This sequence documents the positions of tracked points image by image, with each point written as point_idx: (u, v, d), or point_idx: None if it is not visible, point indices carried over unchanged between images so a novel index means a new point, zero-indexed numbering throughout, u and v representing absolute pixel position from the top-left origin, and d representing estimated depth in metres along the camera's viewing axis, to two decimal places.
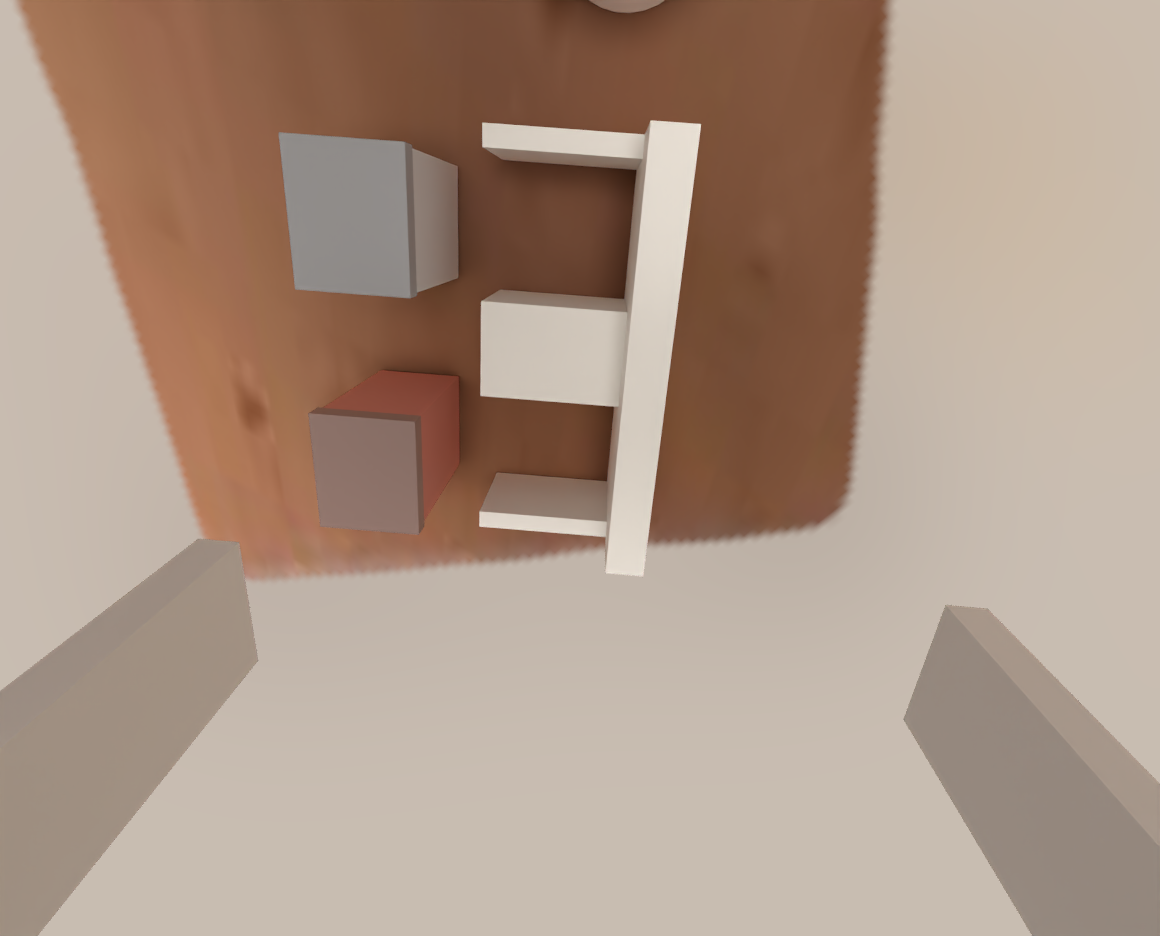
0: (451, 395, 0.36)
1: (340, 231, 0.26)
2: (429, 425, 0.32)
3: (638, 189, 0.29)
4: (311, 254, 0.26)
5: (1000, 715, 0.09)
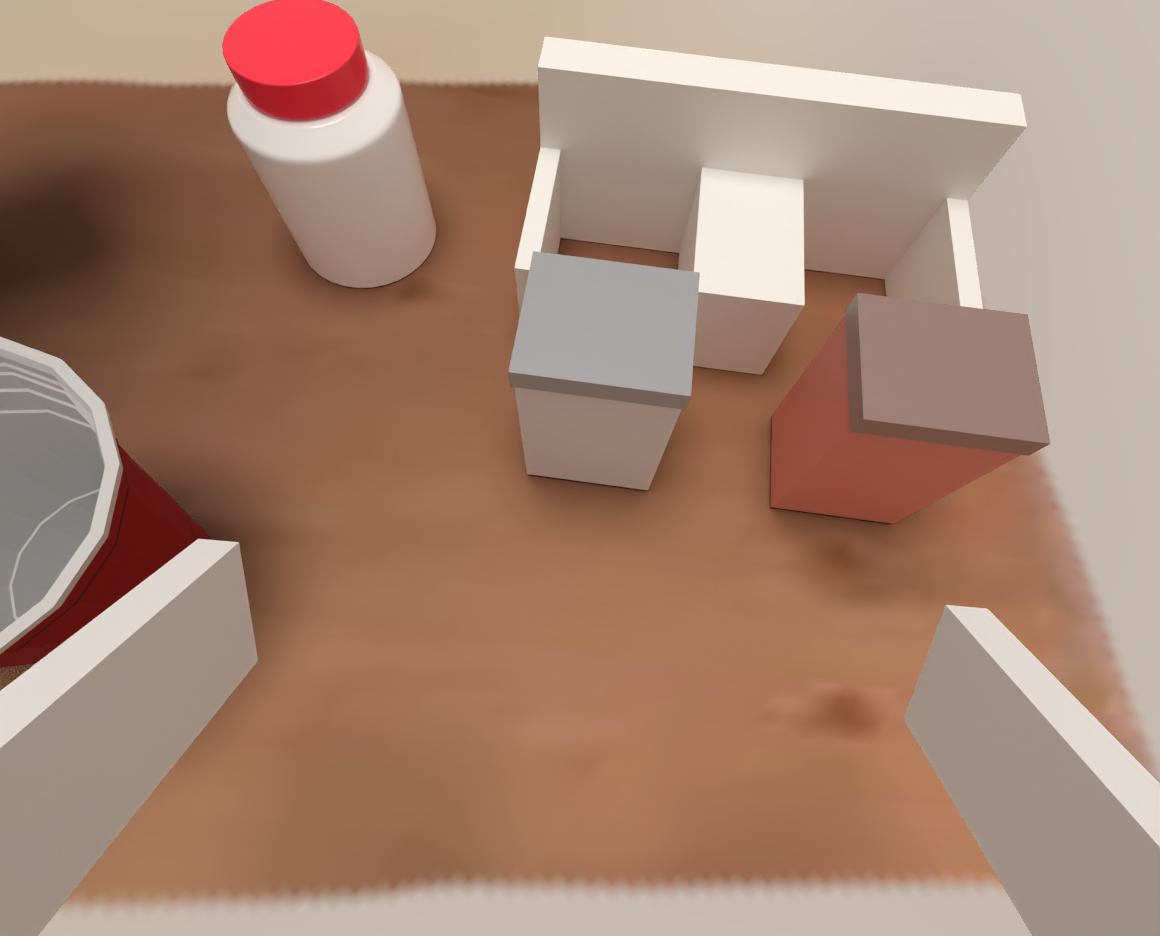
0: None
1: (622, 330, 0.21)
2: None
3: (584, 170, 0.30)
4: (647, 367, 0.20)
5: (1000, 715, 0.09)
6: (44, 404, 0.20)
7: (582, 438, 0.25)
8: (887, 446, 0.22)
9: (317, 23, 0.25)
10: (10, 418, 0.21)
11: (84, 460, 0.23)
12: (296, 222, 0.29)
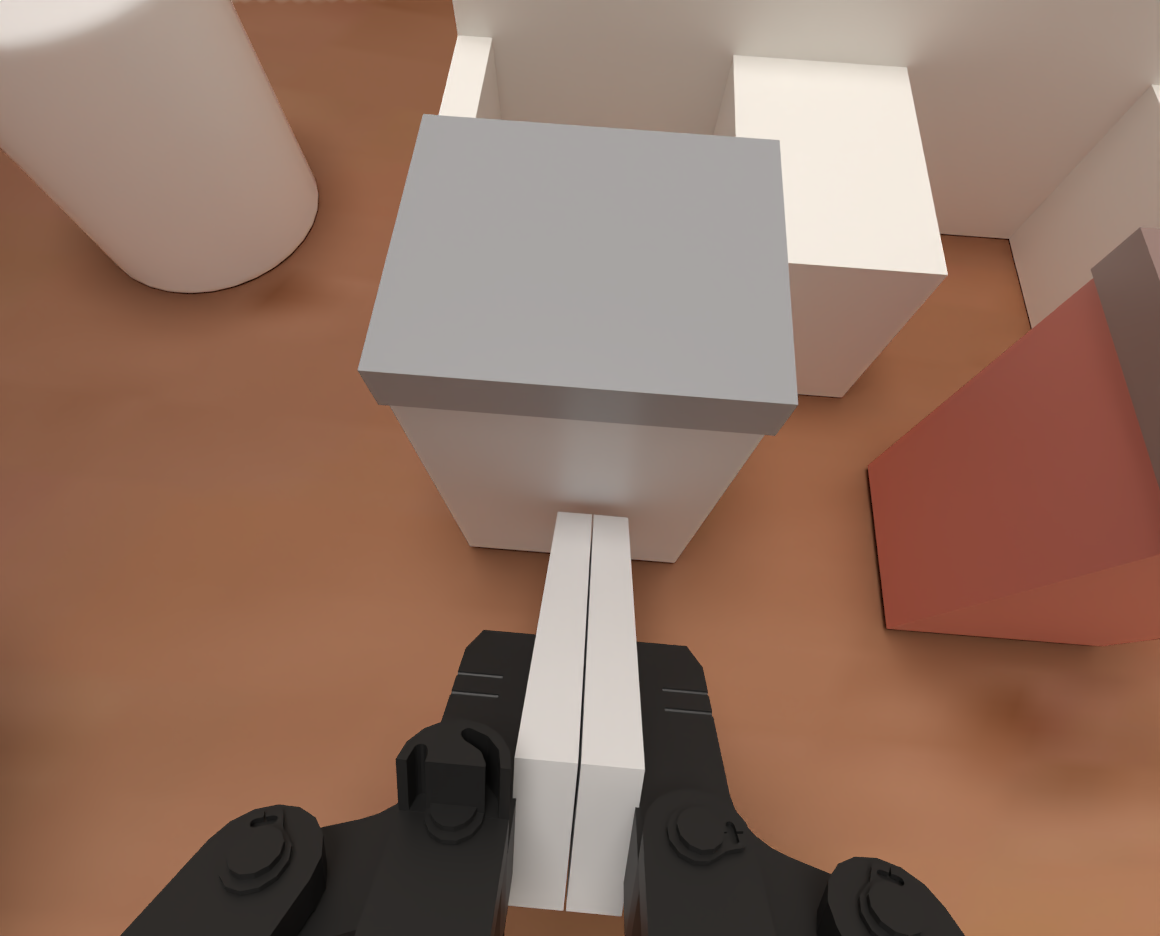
0: None
1: (623, 263, 0.09)
2: None
3: (536, 76, 0.18)
4: (688, 342, 0.09)
5: (588, 590, 0.11)
6: None
7: (554, 495, 0.13)
8: None
9: None
10: None
11: None
12: (43, 182, 0.17)
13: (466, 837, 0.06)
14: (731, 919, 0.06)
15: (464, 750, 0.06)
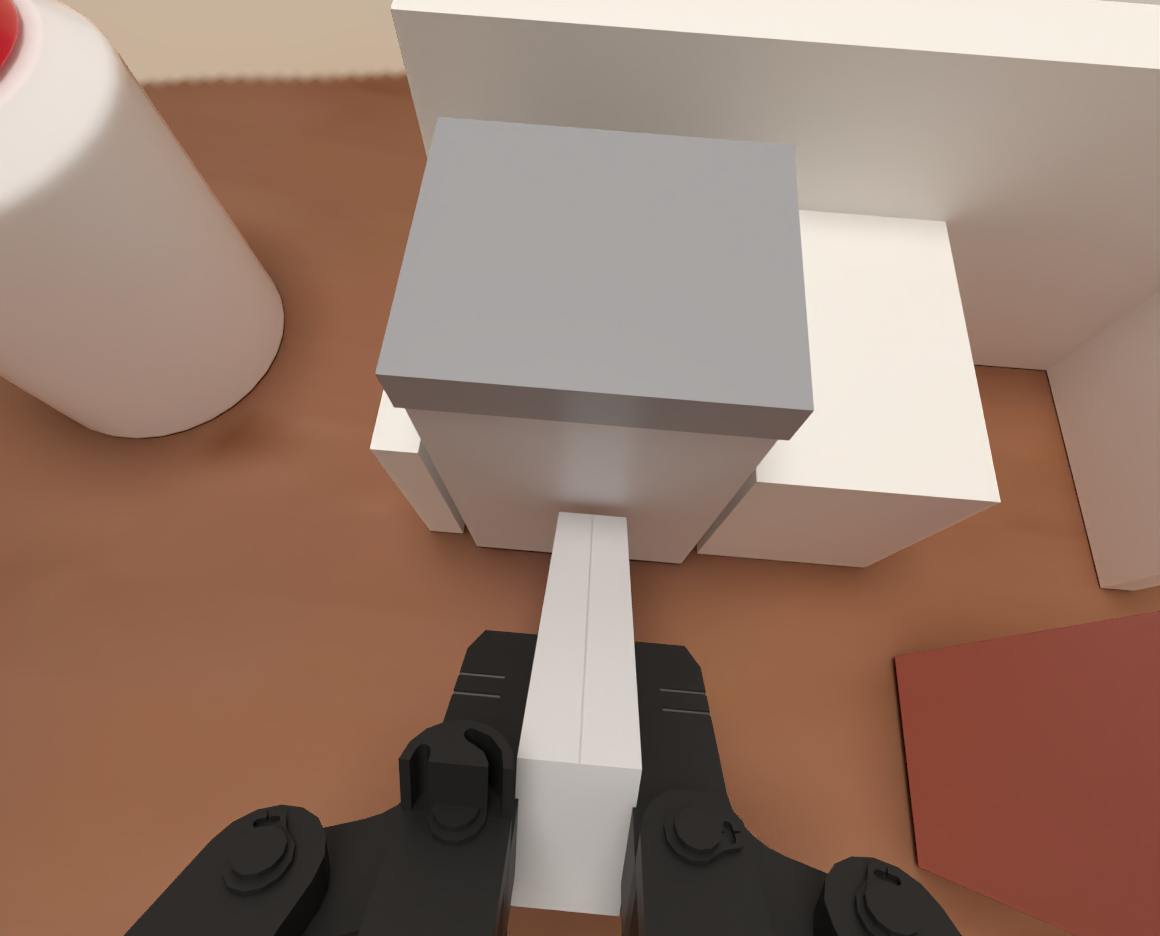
0: None
1: (638, 268, 0.09)
2: None
3: None
4: (704, 348, 0.09)
5: None
6: None
7: (564, 497, 0.13)
8: None
9: None
10: None
11: None
12: None
13: (469, 837, 0.06)
14: (728, 919, 0.06)
15: (467, 750, 0.06)
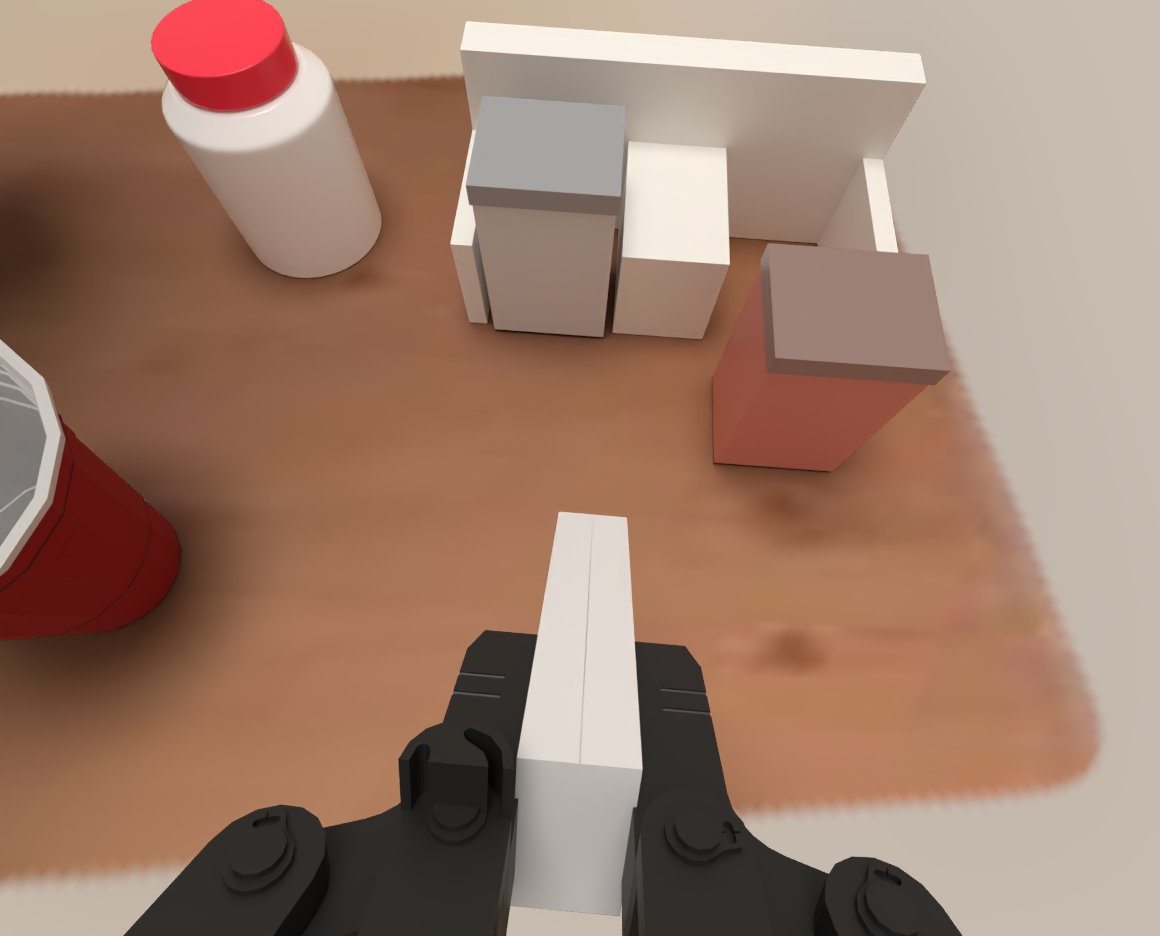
0: None
1: (561, 151, 0.25)
2: None
3: None
4: (583, 177, 0.24)
5: None
6: None
7: (537, 270, 0.28)
8: (805, 386, 0.23)
9: (243, 17, 0.26)
10: None
11: (35, 447, 0.24)
12: (239, 214, 0.30)
13: (469, 838, 0.06)
14: (729, 919, 0.06)
15: (467, 750, 0.06)
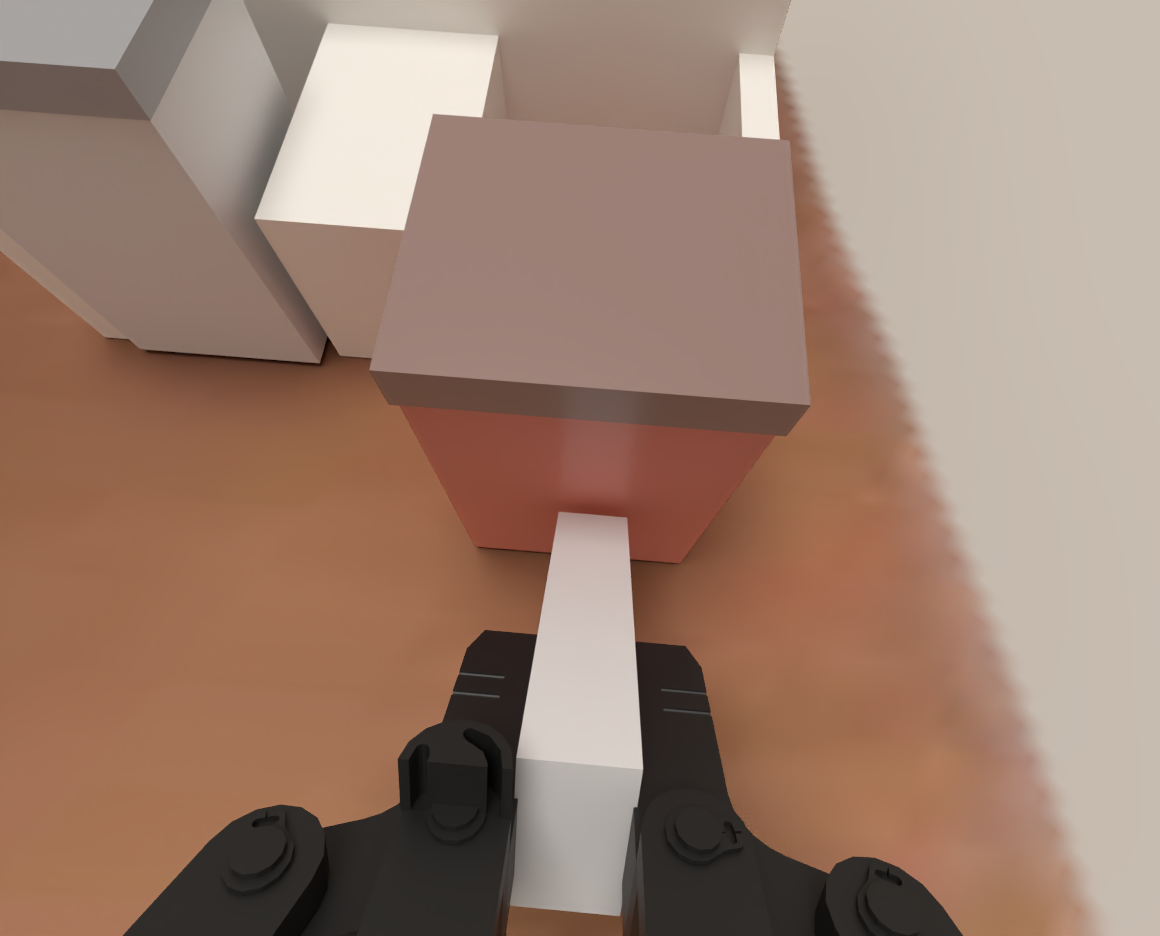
0: None
1: None
2: None
3: None
4: (50, 31, 0.11)
5: None
6: None
7: (111, 246, 0.15)
8: (507, 432, 0.10)
9: None
10: None
11: None
12: None
13: (468, 837, 0.06)
14: (729, 919, 0.06)
15: (466, 750, 0.06)
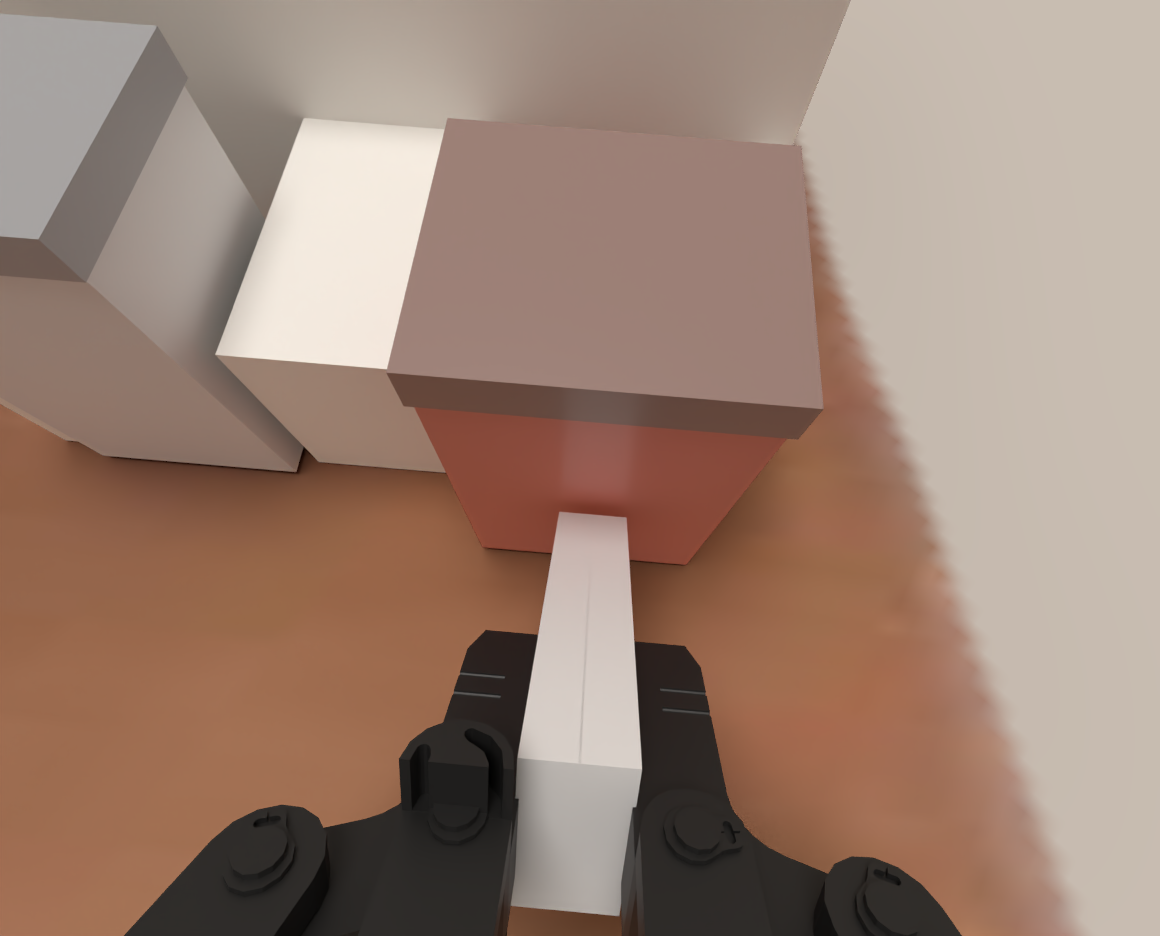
0: None
1: None
2: None
3: None
4: None
5: None
6: None
7: (59, 378, 0.14)
8: (520, 434, 0.10)
9: None
10: None
11: None
12: None
13: (469, 838, 0.06)
14: (728, 918, 0.06)
15: (467, 750, 0.06)
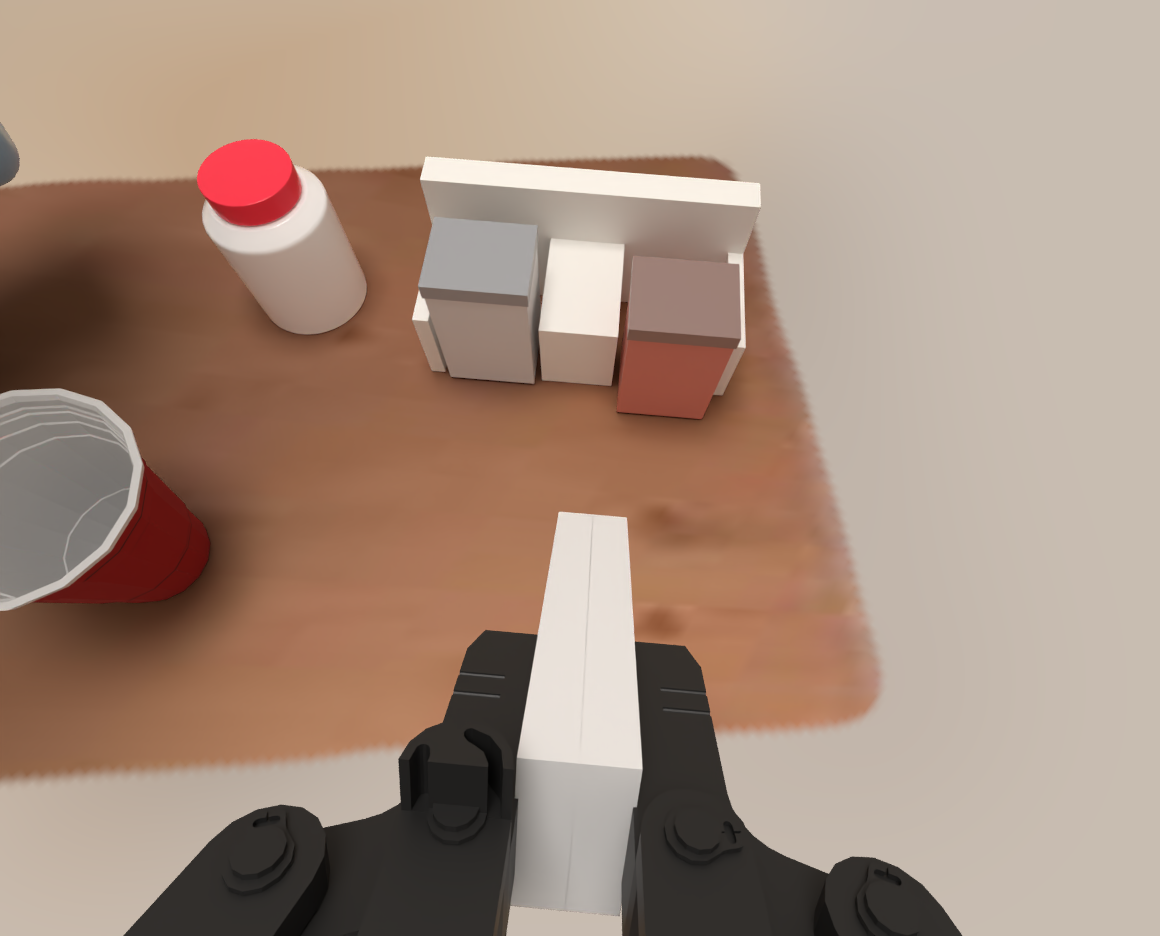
0: None
1: (487, 260, 0.35)
2: None
3: None
4: (502, 280, 0.34)
5: None
6: (88, 430, 0.31)
7: (477, 339, 0.38)
8: (656, 349, 0.35)
9: (262, 158, 0.36)
10: (65, 441, 0.31)
11: (112, 468, 0.34)
12: (256, 291, 0.40)
13: (469, 838, 0.06)
14: (728, 919, 0.06)
15: (467, 751, 0.06)
